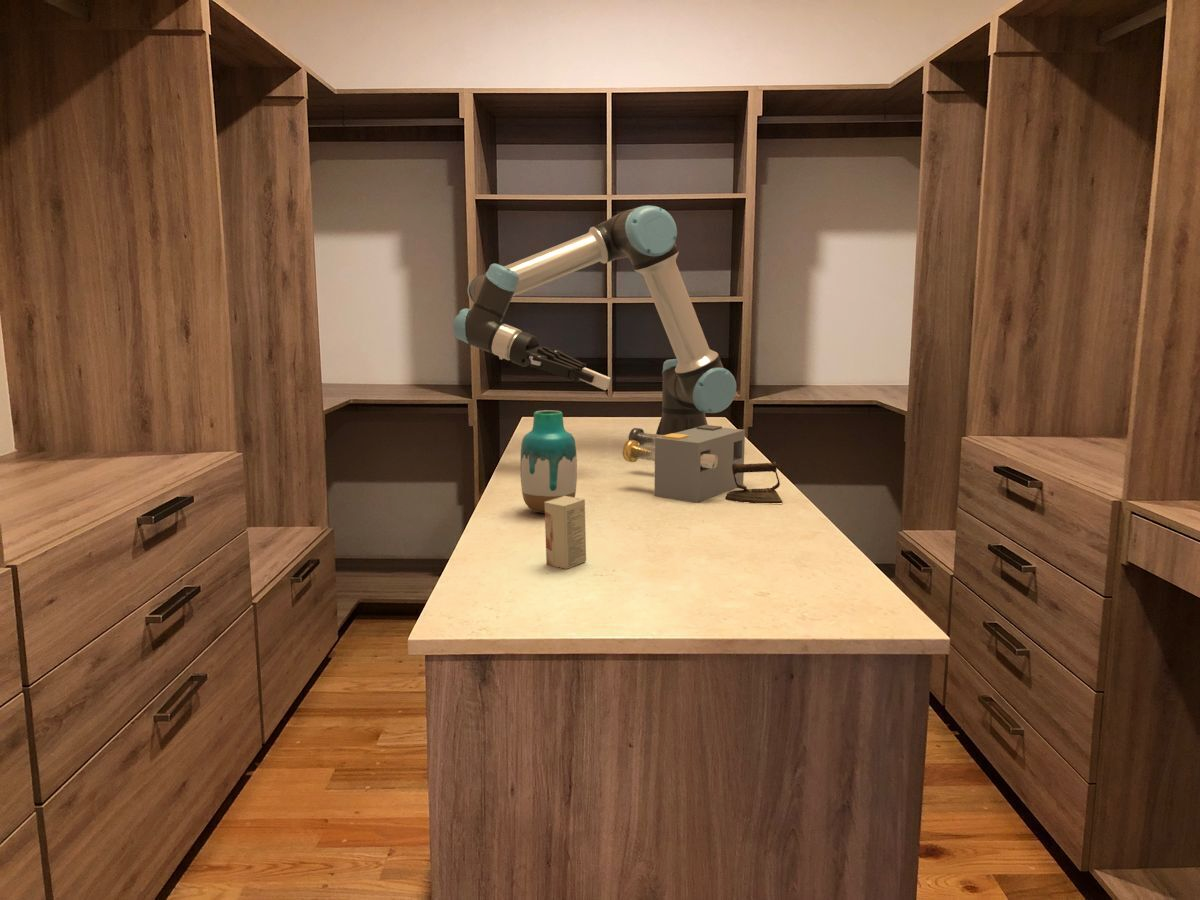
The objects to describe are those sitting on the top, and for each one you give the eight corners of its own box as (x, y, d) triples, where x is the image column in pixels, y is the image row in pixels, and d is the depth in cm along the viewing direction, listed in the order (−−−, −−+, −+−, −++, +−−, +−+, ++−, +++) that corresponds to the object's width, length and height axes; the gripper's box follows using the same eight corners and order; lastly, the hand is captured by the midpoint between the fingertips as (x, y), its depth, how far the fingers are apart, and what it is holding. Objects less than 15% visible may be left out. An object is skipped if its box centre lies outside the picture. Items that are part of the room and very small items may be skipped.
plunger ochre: (634, 459, 189) (635, 438, 188) (719, 471, 177) (720, 448, 177) (622, 463, 186) (622, 441, 185) (708, 475, 174) (709, 452, 173)
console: (702, 478, 197) (703, 423, 195) (743, 484, 191) (745, 428, 189) (654, 495, 181) (655, 436, 179) (697, 502, 175) (698, 441, 173)
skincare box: (566, 556, 140) (565, 494, 139) (587, 561, 138) (587, 498, 136) (543, 564, 136) (543, 500, 135) (565, 570, 134) (564, 505, 132)
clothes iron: (786, 507, 174) (777, 459, 172) (730, 519, 176) (719, 472, 173) (780, 495, 181) (771, 449, 179) (726, 507, 182) (716, 462, 180)
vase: (580, 505, 173) (579, 408, 169) (573, 519, 162) (572, 416, 159) (526, 504, 174) (525, 407, 170) (516, 518, 163) (514, 415, 160)
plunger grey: (639, 446, 205) (639, 426, 204) (717, 456, 193) (718, 435, 192) (628, 449, 201) (628, 429, 200) (707, 459, 190) (707, 438, 189)
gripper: (524, 356, 210) (613, 394, 204) (499, 365, 198) (592, 405, 192) (532, 327, 207) (622, 363, 201) (507, 334, 195) (602, 373, 189)
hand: (607, 384), depth 197 cm, fingers closed
